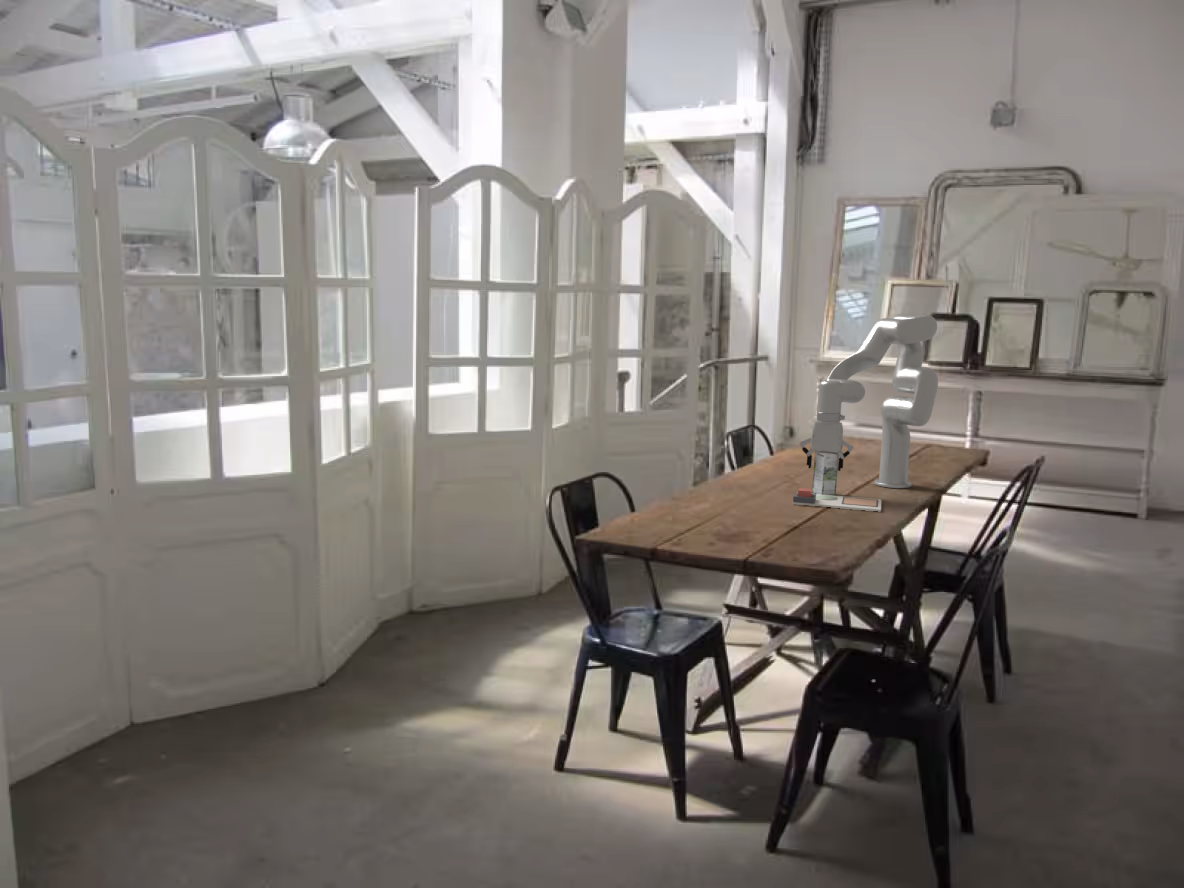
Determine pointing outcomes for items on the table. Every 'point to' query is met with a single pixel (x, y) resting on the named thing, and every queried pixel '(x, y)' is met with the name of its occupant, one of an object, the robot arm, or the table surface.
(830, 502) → the picture board
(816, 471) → the syrup box
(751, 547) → the table surface
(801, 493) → the button
